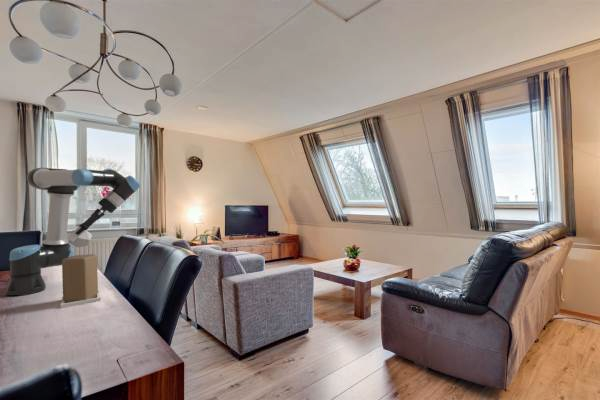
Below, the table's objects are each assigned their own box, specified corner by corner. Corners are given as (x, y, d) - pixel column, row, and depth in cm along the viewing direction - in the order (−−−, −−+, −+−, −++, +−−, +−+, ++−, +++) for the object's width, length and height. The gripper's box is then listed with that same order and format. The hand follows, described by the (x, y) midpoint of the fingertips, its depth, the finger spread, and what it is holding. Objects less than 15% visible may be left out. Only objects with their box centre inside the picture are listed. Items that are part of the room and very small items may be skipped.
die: (94, 247, 139) (97, 229, 144) (77, 240, 132) (80, 222, 137) (80, 253, 140) (83, 235, 145) (62, 247, 133) (66, 228, 138)
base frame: (62, 300, 140) (62, 296, 140) (99, 293, 148) (99, 290, 148) (60, 308, 128) (60, 304, 128) (100, 300, 136) (100, 297, 136)
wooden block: (76, 297, 142) (75, 254, 143) (99, 295, 143) (97, 253, 143) (62, 304, 133) (60, 258, 133) (86, 302, 133) (84, 257, 133)
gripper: (103, 197, 152) (63, 232, 143) (105, 196, 135) (61, 235, 126) (115, 207, 156) (78, 242, 146) (119, 207, 139) (77, 246, 129)
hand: (70, 239), depth 136 cm, fingers closed on die, 8 cm apart
